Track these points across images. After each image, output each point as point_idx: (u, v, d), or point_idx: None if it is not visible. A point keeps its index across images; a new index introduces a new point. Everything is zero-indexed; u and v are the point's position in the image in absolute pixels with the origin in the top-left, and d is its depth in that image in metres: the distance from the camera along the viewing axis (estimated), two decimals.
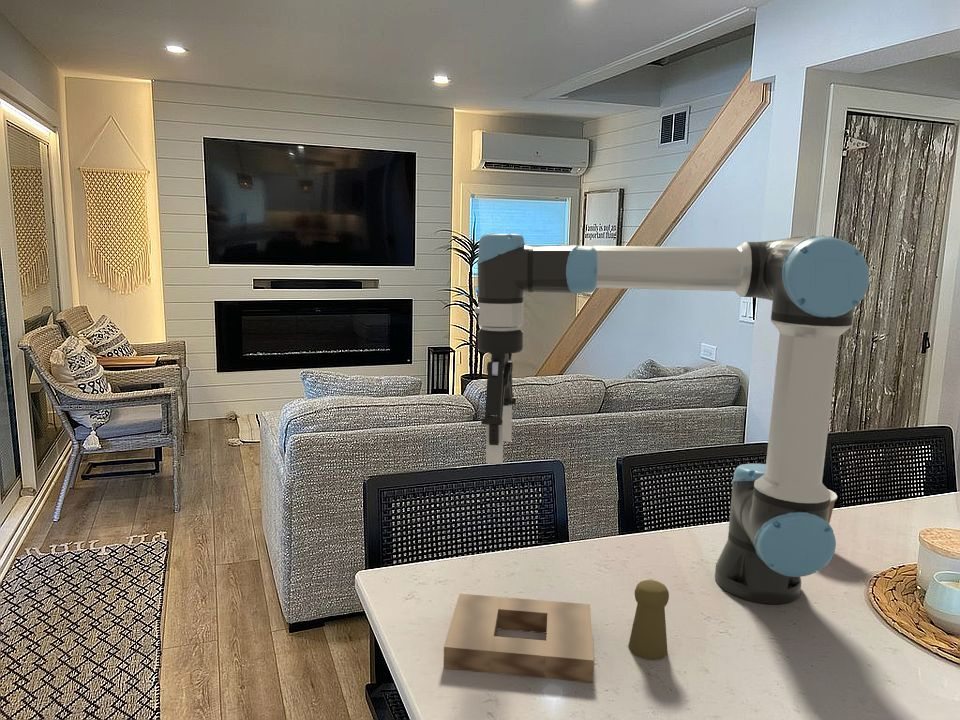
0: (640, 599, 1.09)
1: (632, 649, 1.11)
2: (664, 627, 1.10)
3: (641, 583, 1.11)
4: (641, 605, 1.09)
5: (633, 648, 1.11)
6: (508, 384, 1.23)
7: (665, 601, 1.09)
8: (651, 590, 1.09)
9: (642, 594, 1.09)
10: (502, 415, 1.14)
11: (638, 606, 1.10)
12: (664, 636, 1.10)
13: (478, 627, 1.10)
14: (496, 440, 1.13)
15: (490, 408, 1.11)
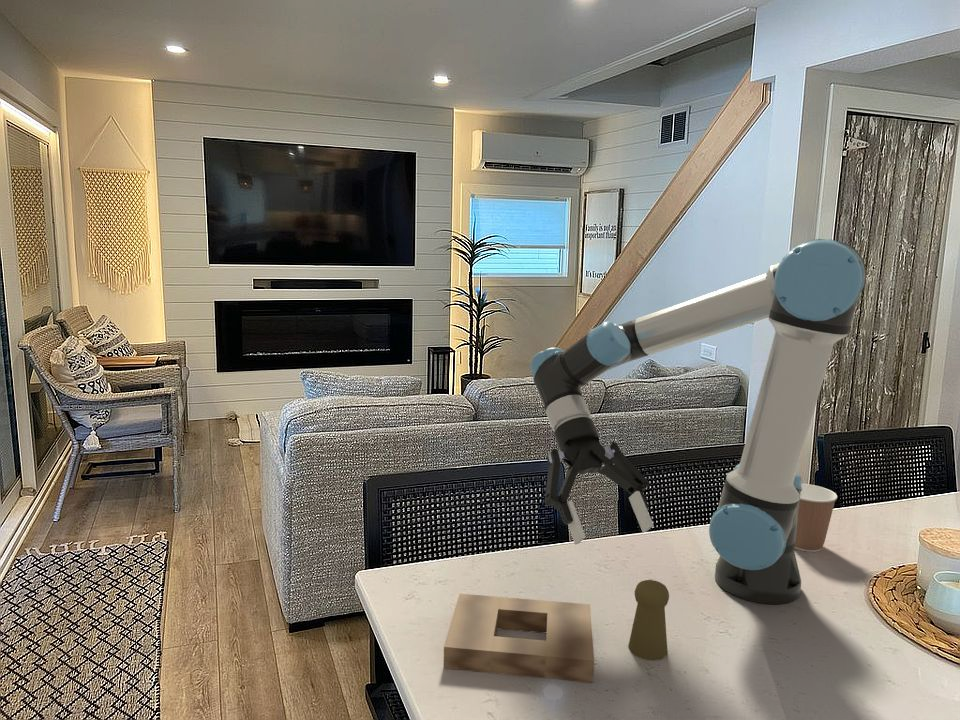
0: (640, 599, 1.09)
1: (632, 649, 1.11)
2: (664, 627, 1.10)
3: (641, 583, 1.11)
4: (641, 605, 1.09)
5: (633, 648, 1.11)
6: (612, 470, 1.25)
7: (665, 601, 1.09)
8: (651, 590, 1.09)
9: (642, 594, 1.09)
10: (569, 493, 1.20)
11: (638, 606, 1.10)
12: (664, 636, 1.10)
13: (478, 627, 1.10)
14: (564, 517, 1.17)
15: (547, 490, 1.20)
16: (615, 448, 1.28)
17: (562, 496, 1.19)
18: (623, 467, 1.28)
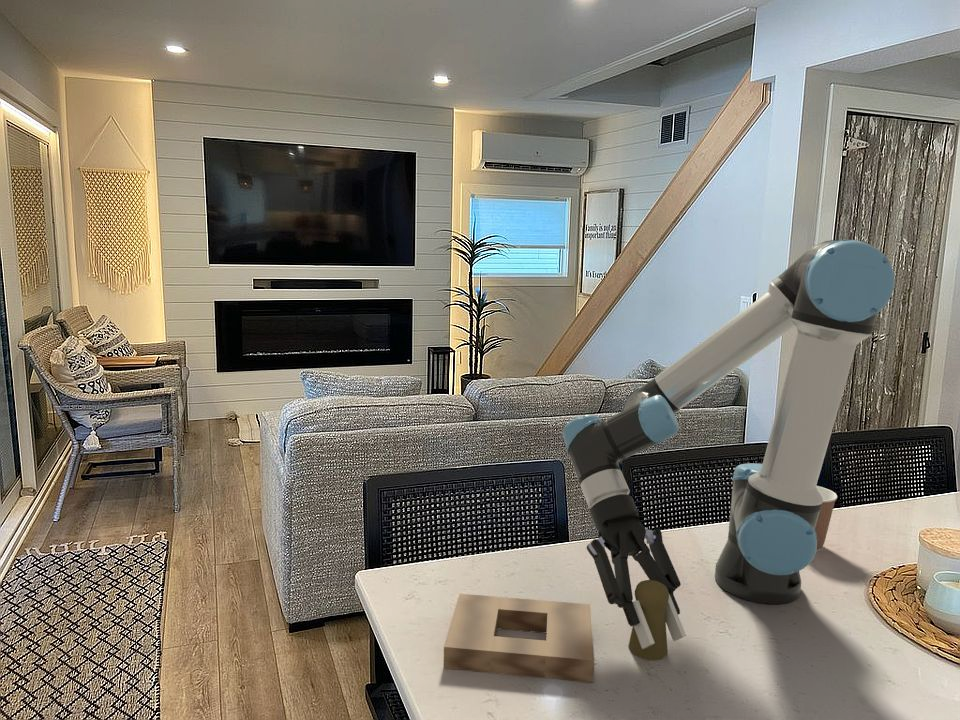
0: (640, 599, 1.09)
1: (632, 649, 1.11)
2: (664, 627, 1.10)
3: (641, 583, 1.11)
4: (641, 605, 1.09)
5: (633, 648, 1.11)
6: (646, 560, 1.14)
7: (665, 601, 1.09)
8: (651, 590, 1.08)
9: (642, 594, 1.09)
10: (631, 589, 1.10)
11: None
12: (664, 636, 1.10)
13: (478, 627, 1.10)
14: (631, 619, 1.08)
15: (606, 588, 1.11)
16: (657, 535, 1.18)
17: (627, 596, 1.09)
18: (659, 557, 1.16)
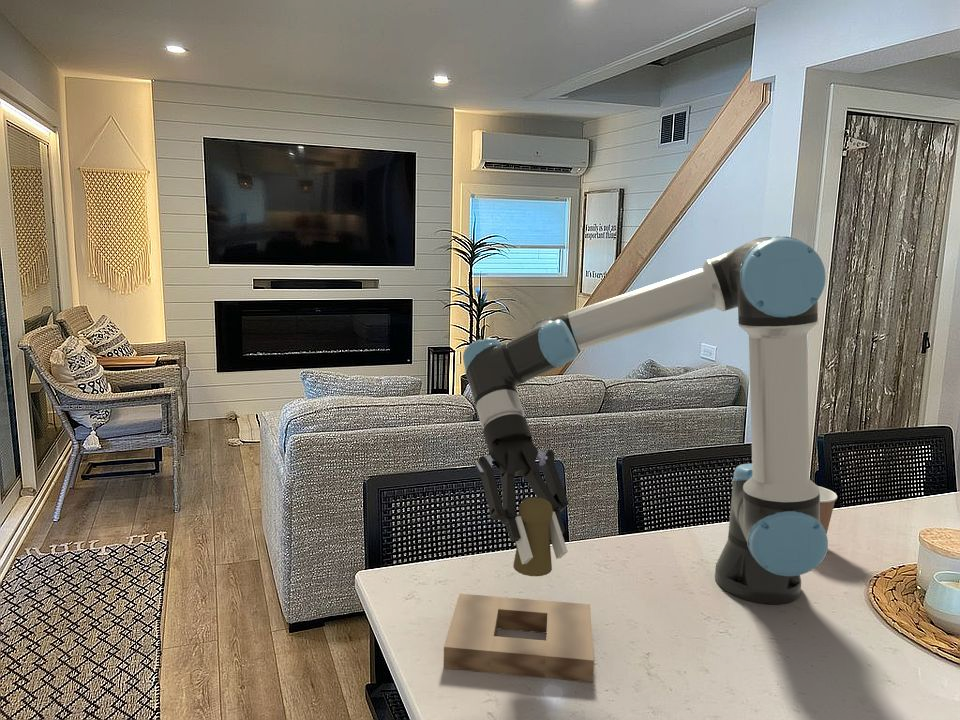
0: (523, 514, 1.07)
1: (515, 566, 1.09)
2: (547, 544, 1.08)
3: (525, 499, 1.09)
4: (524, 521, 1.08)
5: (516, 565, 1.09)
6: (535, 479, 1.13)
7: (547, 516, 1.07)
8: (533, 505, 1.07)
9: (524, 509, 1.07)
10: (514, 505, 1.09)
11: None
12: (547, 553, 1.08)
13: (478, 627, 1.10)
14: (511, 534, 1.06)
15: (490, 505, 1.09)
16: (549, 456, 1.16)
17: (509, 511, 1.08)
18: (549, 478, 1.15)
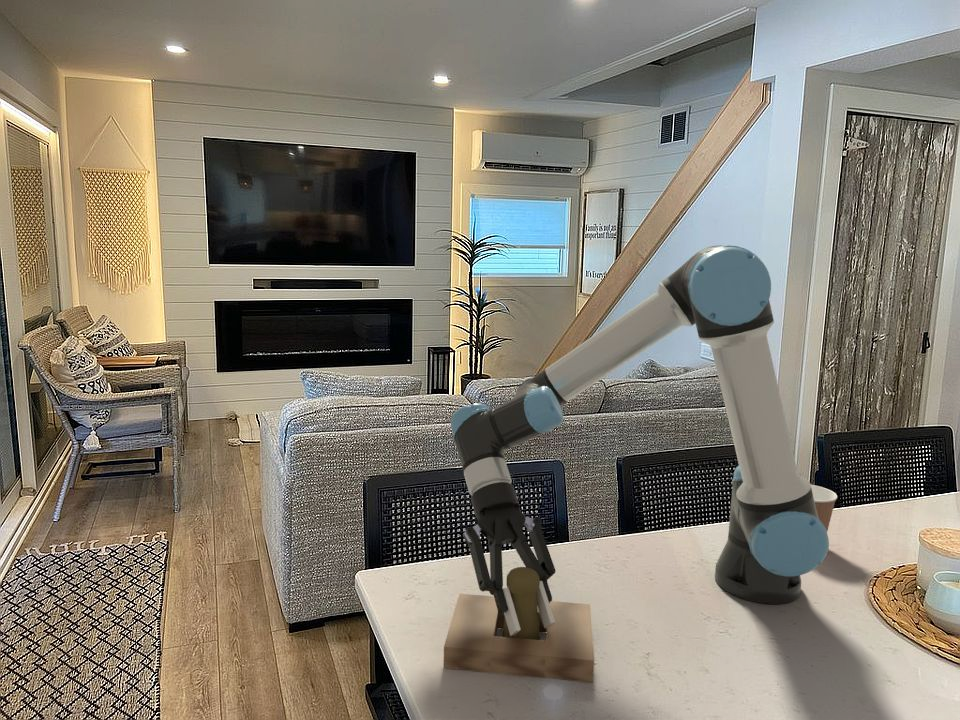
0: (510, 586, 1.09)
1: (504, 636, 1.11)
2: (535, 614, 1.10)
3: (513, 570, 1.11)
4: (511, 592, 1.09)
5: (505, 635, 1.11)
6: (522, 547, 1.14)
7: (534, 588, 1.09)
8: (520, 577, 1.09)
9: (511, 581, 1.09)
10: (502, 576, 1.10)
11: None
12: (535, 623, 1.10)
13: (478, 627, 1.10)
14: (499, 606, 1.08)
15: (478, 576, 1.11)
16: (536, 523, 1.18)
17: (497, 583, 1.09)
18: (536, 545, 1.16)
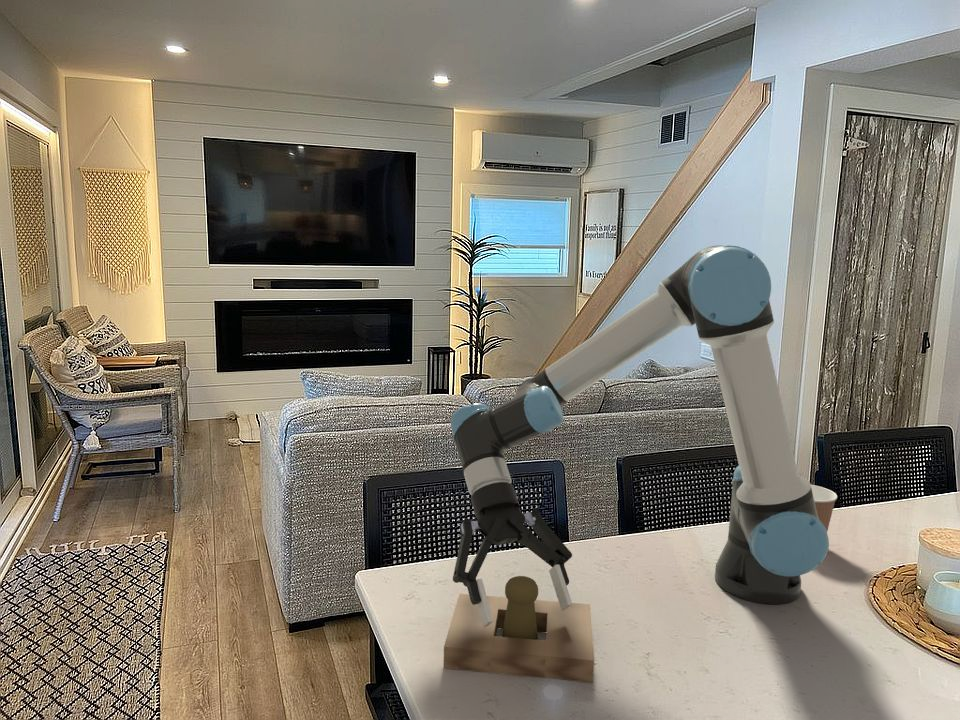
0: (508, 595, 1.09)
1: None
2: (533, 623, 1.10)
3: (511, 579, 1.11)
4: (510, 601, 1.10)
5: None
6: (531, 541, 1.15)
7: (533, 597, 1.09)
8: (519, 586, 1.09)
9: (509, 590, 1.09)
10: None
11: (508, 602, 1.11)
12: (533, 632, 1.10)
13: (478, 627, 1.10)
14: (472, 597, 1.08)
15: (456, 566, 1.11)
16: (536, 515, 1.18)
17: (471, 573, 1.09)
18: (544, 536, 1.18)
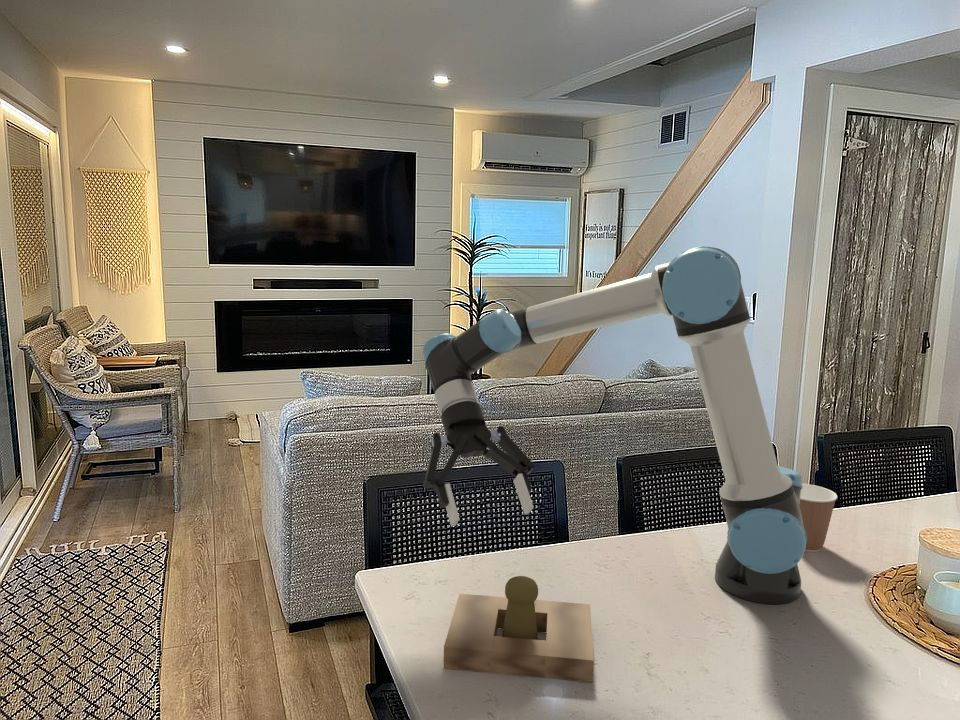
0: (508, 595, 1.09)
1: None
2: (533, 623, 1.10)
3: (511, 579, 1.11)
4: (510, 601, 1.10)
5: None
6: (496, 454, 1.26)
7: (533, 597, 1.09)
8: (519, 586, 1.09)
9: (509, 590, 1.09)
10: (447, 476, 1.20)
11: (508, 602, 1.11)
12: (533, 632, 1.10)
13: (478, 627, 1.10)
14: (440, 499, 1.18)
15: (426, 473, 1.21)
16: (501, 432, 1.29)
17: (439, 479, 1.19)
18: (509, 450, 1.28)
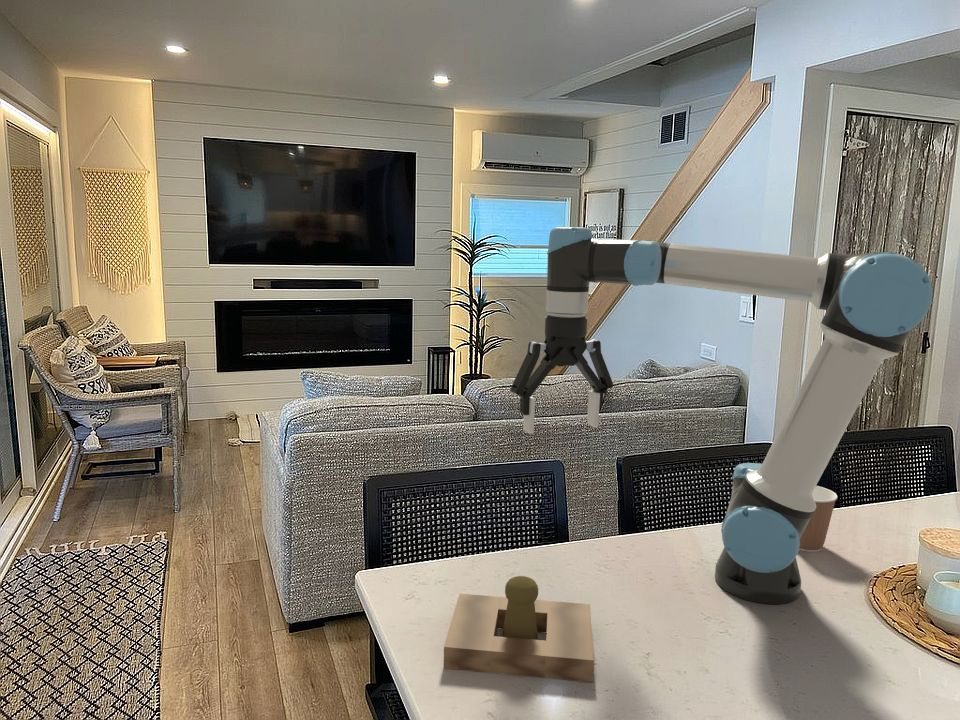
0: (508, 595, 1.09)
1: None
2: (533, 623, 1.10)
3: (511, 579, 1.11)
4: (510, 601, 1.10)
5: None
6: (584, 370, 1.30)
7: (533, 597, 1.09)
8: (519, 586, 1.09)
9: (510, 590, 1.09)
10: (534, 390, 1.26)
11: (508, 602, 1.11)
12: (533, 632, 1.10)
13: (478, 627, 1.10)
14: (522, 410, 1.27)
15: (516, 380, 1.26)
16: (597, 347, 1.30)
17: (527, 393, 1.26)
18: (596, 364, 1.32)
